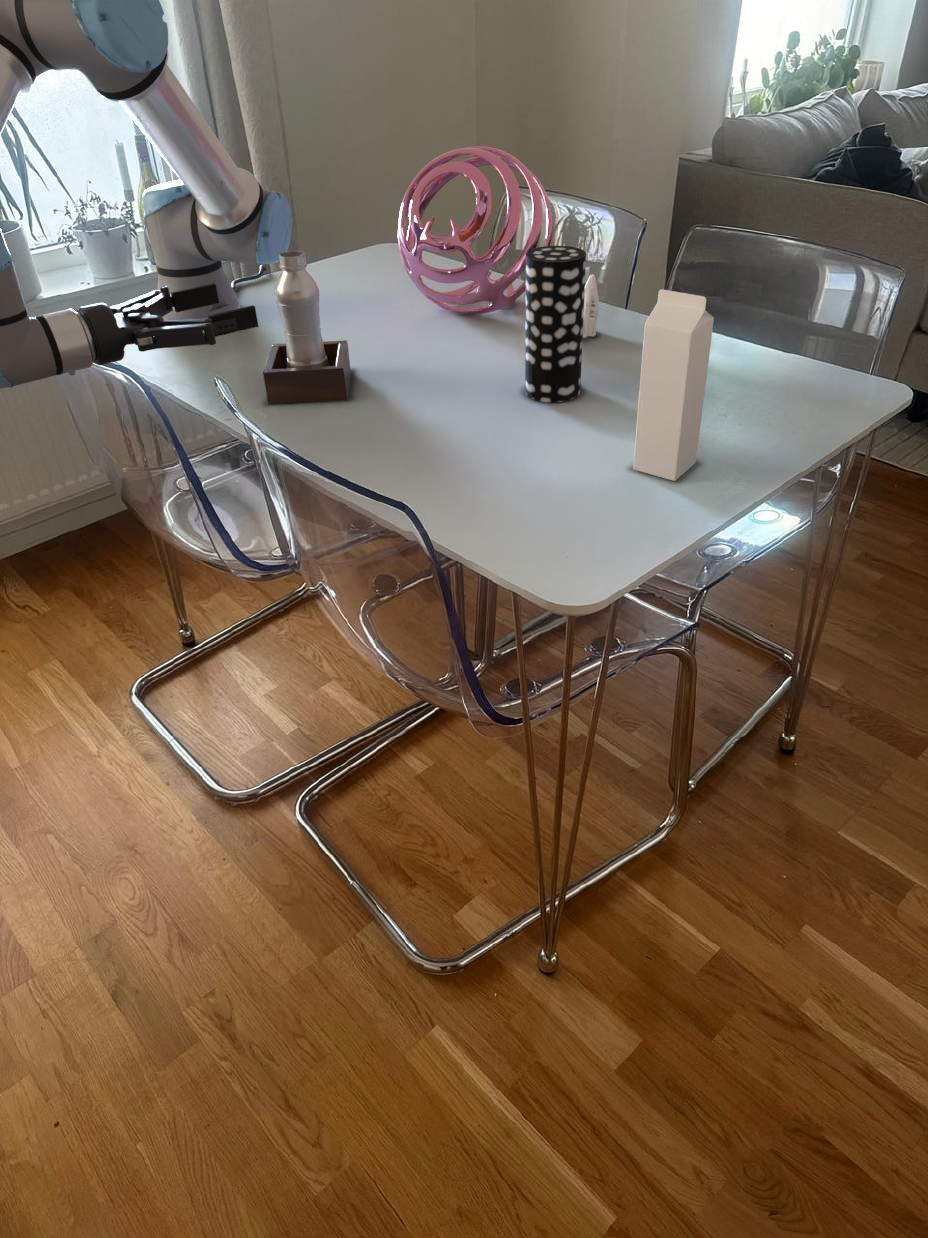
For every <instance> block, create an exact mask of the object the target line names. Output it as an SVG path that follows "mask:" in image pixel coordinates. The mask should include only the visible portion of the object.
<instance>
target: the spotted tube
mask: <svg viewBox="0 0 928 1238" xmlns="http://www.w3.org/2000/svg"><path fill="white" fill-rule="evenodd" d="M543 246H544V245H543ZM543 246H539V247H536V248H534V249H531V250H529V251H528V252H526V268H525V280H526V291H525V293H524V294H525V297H524V299H525V301H524V302H525V303H524V304H525V305H524V306H525V309H524V311H525V316H524V317H525V319H524V321H525V322H524V325H525V329H524V332H525V333H524V335H525V336H524V339H525V340H524V341H525V342H524V343H525V344H524V393H525V395H526V396H527V397H528V398H530V399H532V400H534V401H537V402H542V403H562V402H567V401H571V400H573V399H575V398H577V397H579V396H580V394H581V389H582V387H581V386H582V384H581V383H582V365H583V364H582V361H583V339H584V338H583V331H584V330H583V316H584V292H585V285H586V266H587V265H586V264H587V252H586V251H585V250H584V249H582V248H579V247H575V246H571V245H551V246H544V247H543Z"/></svg>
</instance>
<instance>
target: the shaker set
mask: <svg viewBox="0 0 928 1238" xmlns="http://www.w3.org/2000/svg"><path fill="white" fill-rule="evenodd" d="M599 307H600V298H599V291H598V285H597V279H596V275H595V274H592V273H591V274H590V275H589V277H588V279H587V280H586V282H585V292H584V316H583V339H585V338H587V337H592V338H593V337H595V336H597V334H596V331H597V324H598V323H597V322H598V315H599Z"/></svg>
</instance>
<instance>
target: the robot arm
mask: <svg viewBox="0 0 928 1238" xmlns="http://www.w3.org/2000/svg"><path fill="white" fill-rule="evenodd" d="M164 15H165V11H164V9H163V6H162V4H161V1H160V0H0V136H1V135H2V133H3V131H4V129H5V127H6V124H7V122H8V120H9V117H10V115H11V113H12V111H13V109H14V107H15V105H16V102H17V101H18V98H20V97H21V98H22V97H26V96H28V95H29V94H30V93H31V91H32V90H33V87H34V85H35V83H36V81H37V80H38V79H39V78H40V77H41V76H43V75H44V74H46V73H49V72H53V71H59V72H60V71H61V72H62V71H64V72H65V71H66V72H71V71H72V72H73V71H74V72H76V71H77V72H79V73H81V74H83V76H84V77H85V78H86V79H87V80H88V82H89V83H90V84H91V85H92V87H93V88H94V89H95V90H96V92H97V93H98V94H99V95H100V96H101V97H102V98H104V99H105V100H107V101H111V102H116V103H118V102H119V104H121V107H123V108H124V110H125V112H127V114H128V115H129V116H130V117H131V119H132V120H133V121H134V123H135V124H136V125H137V126H138V127H139V130H140V131H141V132H142V133H143V135H145V136H146V138H147V139H148V140H149V142H150V143H151V144H152V146H153V147H154V148H155V150H156V151H157V152H158V153H159V155H160V156H161V157H162V158H163V160H164V161H165V163H166V164H167V165H168V166H169V167H170V169H171V170H172V172H173V173H174V174H175V175H176V177H177V178H178V179H177V180H171V181H167V182H163V183H159V184H156V185H153V186H150V187H148V188H147V189H145V190H144V191H143V193H142V195H141V203H142V210H143V219H144V222H145V226H146V230H147V234H148V238H149V242H150V247H151V251H152V254H153V259H154V263H155V268H156V271H157V276H158V277H157V278H158V279H157V289H154V290H152V291H150V292H148V293H145V294H143V295H140V296H137V297H135V298H132V299H129V300H127V301H125V302H122V303H120V304H115V305H112V306H109V305H107V304H106V303H104V302H97V303H93V304H88V305H84V306H79V307H78V309H76V311H75V310H74V309H73V308H68V309H63V310H59V311H54V312H50V313H45V314H40V315H36V316H30V315H29V313H28V309H27V306H26V302H25V300H24V299H25V298H24V296H23V293H22V289H21V284H20V281H19V278H18V276H17V272H16V269H15V264H14V262H13V261H14V260H13V256H12V253H11V252H10V250H9V248H8V245H7V242H6V240H5V237H4V234H3V231H2V229H1V228H0V389H6V388H9V389H11V388H14V387H16V386H20V385H23V384H28V383H31V382H35V381H39V380H44V379H48V378H50V377H55V376H59V375H62V374H63V375H64V374H68V375H69V376H75V375H76V371H80V370H84V369H89V368H91V367H92V366H93V364H95V365H98V366H103V365H107V364H111V363H116V362H120V361H122V360H123V359H124V357H125V348H126V346H127V345H135V346H137V348H138V349H137V350H138V351H139V352H147V351H152V350H157V349H170V348H183V347H194V346H207V345H210V346H215V345H216V344H217V340H216V337H220V336H225V335H229V334H233V333H237V332H242V331H246V330H250V329H253V328H257V327H259V322H258V316H257V310H256V306H254V305H249V306H244V307H241V306H240V301H239V298H238V295H237V294H236V292H235V290H236V285H237V284H240V283H243V282H248V281H254V280H258V279H260V278H261V277H262V276H263V275H264V272H265V271H267V269H266V267H265V266H264V265H274V264H277V263H280V260H279V254H280V253H282V252H286V251H289V247H290V243H291V238H292V232H293V231H292V228H293V225H292V224H293V222H292V221H293V218H292V212H291V208H290V204H289V202H288V199H287V197H286V196H285V195H284V193H282V192H279V191H276V190H273V189H272V190H270V191H267V190H265V189H264V188H263V186H262V185H261V184H260V182H259V181H258V179H257V178H256V177H255V175H254V174H253V173H252V172H251V171H249V170H247V169H245V168H241V167H238V166H237V165H236V163H235V161H234V160H233V159H232V157H231V156H230V154H229V153H228V152H227V150H226V148H225V147H224V146H223V144H222V143H221V141H220V139H219V138H218V137H217V135H216V133H215V132H214V131H213V130H212V128H211V126H210V125H209V124H208V122H207V120H206V119H205V117H204V116H203V115H202V113H201V112H200V110H199V109H198V107H197V106H196V105H195V103H194V101H193V100H192V99H191V97H190V96H189V94H188V93H187V91H186V90H185V89H184V87H183V86H182V84H181V82H180V81H179V80H178V78H177V76H176V75H175V74H174V72H173V71H172V69H171V68H170V66H169V65H168V61H169V48H168V47H169V29H168V27H169V26H168V23H167V22H166V21H165V20H164V19H163V16H164ZM222 262H229V263H231V262H232V263H244V264H254V265H259V272H258V273H256V274H254V275H253V274H252V275H250V276H249V275H248V276H244V277H239V278H236V279H234V280H233V281H232V282H231V283H230V281H229V278H228V277H227V275H226V273H225V270H224V268H223V263H222Z"/></svg>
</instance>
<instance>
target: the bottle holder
mask: <svg viewBox="0 0 928 1238" xmlns="http://www.w3.org/2000/svg"><path fill="white" fill-rule="evenodd" d="M323 345H324V349H325V355H326V356H327V359H328V362H329V365H330V366H324V367H305V368H287V348H286V343H273V344H271V346H270V350H269V353H268V356H267V359H266V361H265V365H264V368H263V371H262V376H263V382H264V388H265V393H266V399H267V404H268V405H283V404H299V403H300V404H301V403H318V402H320V403H322V402H336V401H339V402H340V401H347V400H348V396H349V388H350V379H351V361H350V353H349V344H348V340H345V339H344V340H330V341H329V340H327V341H323Z"/></svg>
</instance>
